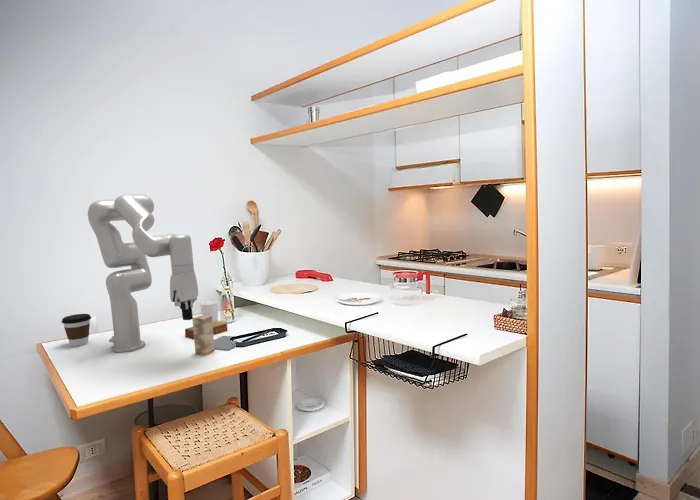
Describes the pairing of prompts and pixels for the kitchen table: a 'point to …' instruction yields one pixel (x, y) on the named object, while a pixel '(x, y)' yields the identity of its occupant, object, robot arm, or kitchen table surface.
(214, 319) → the white cup
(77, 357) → the kitchen table surface
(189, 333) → the carton
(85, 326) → the coffee cup
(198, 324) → the wood block
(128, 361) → the kitchen table surface
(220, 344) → the rubber mat
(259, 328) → the kitchen table surface
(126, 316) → the robot arm
